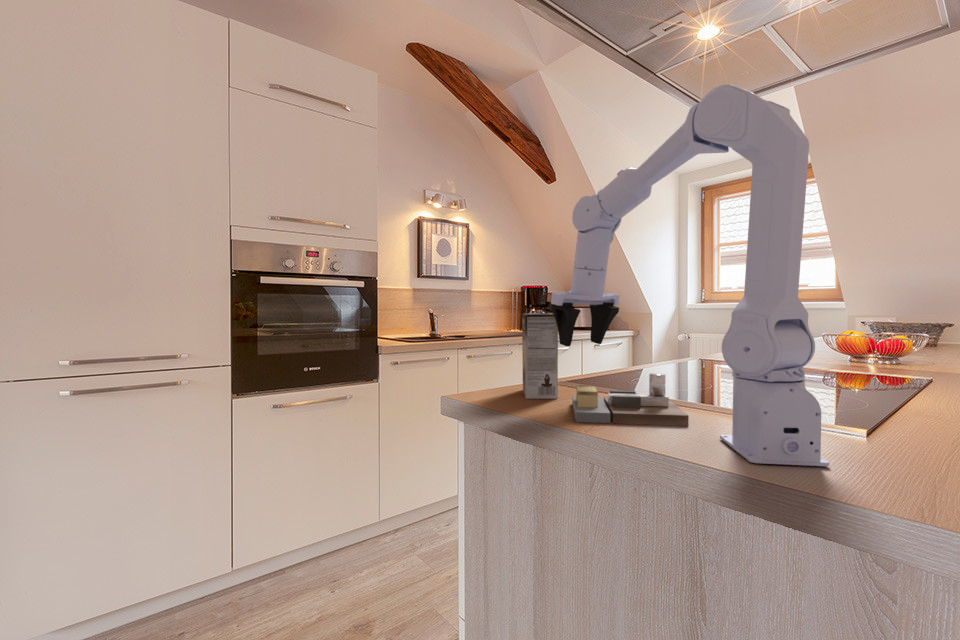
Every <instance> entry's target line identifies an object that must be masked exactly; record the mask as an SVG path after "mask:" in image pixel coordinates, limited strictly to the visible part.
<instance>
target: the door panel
mask: <svg viewBox="0 0 960 640" xmlns="http://www.w3.org/2000/svg"><path fill="white" fill-rule="evenodd" d="M609 393H622V394H637V391H635V390H622V389H621V390H615V389H612V390H611V389H609ZM603 400H604V402H605V404H606V406H607V408H608V410H609V411H610V421H612V424H625V425H626V424H627V425H628V424H629V425H630V424H632V425H656V426H658V425H660V426H682V427H683V426H684V427H685V426H689V416H690V415H689V414H688V413H687V412H685V411H684V410H682V409H681V408H680V407H679V406H677V405H676V404H675V403H674V402H672V400H670V399H669V407H664V406H641V397H640V396H622V395H613V405H609V403H608V396H603Z"/></svg>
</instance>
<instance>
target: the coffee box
mask: <svg viewBox="0 0 960 640" xmlns="http://www.w3.org/2000/svg"><path fill="white" fill-rule="evenodd" d="M521 316H522V317H521V319H522V322H521V324H522V325H521V326H522V332H521V333H522V334H521V335H522V337H521V339H522V340H521V341H522V346H521V347H522V352H521V353H522V355H521V356H522V390H523V393H524V396H525V399H527V400H530V399H531V400H534V399H536V400H540V399H544V400H545V399H547V400H548V399H549V400H550V399H551V400H553V399H555V400H556V399H557V400H558V397H559V396H558V394H559V393H558V391H559V387H558V386H559V385H558V383H559V382H558V380H559V378H558V376H559V373H558V371H559V369H558V367H559V366H558V365H559V363H558V362H559V361H558V360H559V357H558V355H559V353H558V352H559V333H558V327H557V323H556V320H555V317H554V314H553V312H529V313H527V312H525V313H524V312H523V313H522V315H521Z"/></svg>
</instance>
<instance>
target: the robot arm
mask: <svg viewBox="0 0 960 640" xmlns="http://www.w3.org/2000/svg"><path fill="white" fill-rule="evenodd" d="M809 143H810V142H809V138H808V137H807V135H806V134H805V133H804V132H803V130H802V128H800V126H799V125H798V123H797V122H796V121H795V119H794V118H793V117H792V115H791V110H790V108H788V107H785V106H784V105H781V104H779V103H776V102H774V101H770V100H766V99H764V98H762V97H760V96H759V95H758V94H756V93H754V92H752V91H749V90H747V89H745V88H743V87H741V86H737V85H734V84H730V83H729V84H727V83H725V84H721V85H719V86H716V87H714V88H713V89H711V90H710V91H709V92H708V93H707V94H705V95H704V97H702V99H701V100H700V101H699V102H697V103H696V104H695V105H693V106H692V107H690V108H689V110H688V113H687V116H686V117H685V121H684V123H683V124H682V125H680V127H678V129H677V130H675V132H674V133H673V134H671V135H670V136H669V137H668V138H667V139H666V140H665V141H664V142H663V143H662V144H661V145H660V146H658V148H656V150H655V151H654V152H653V153H652V154H651V155H650V156H648V158H646V160H645V161H644V162H643V163H642V164H641V165H640V166H639V167H637V168H635V167H627V168H625V169H620V171H618V172H617V173H616V176H615V178H613V179H612V180H611V181H610V182H609V183H607V185H605V186H604V187H602V189H601V188H600V190H599V191H597V193H596V194H592V195H590V196H589V195H585V196H581V198H580V199H579V200H578V201H577V202H576V204H575V205H574V207H573V211H572V219H571V220H572V224H573V226H574V228H575V229H576V230H577V237H576V242H575V243H576V244H575V255H574V262H573V269H572V279H571V287H570V288H571V289H570V290H568V291H563V292H560V291H559V292H552V293H551V301H550V309H551V313H553V314H554V317H555V320H556V323H557V327H558V341H559V344H560V345H562V346H564V347H571V345H572V342H573V336H574V330H575V325H576V323H577V320H578V317H579V315H580V313H581V312H582V311H581V309H578V308H575V306H573V305H577V306H579V305H581V306H582V305H586V306H587V305H588V306H589V309H590V317H591V318H590V319H591V322H590V323H591V327H590V342H592V343H594V344H597V345H601V344H602V342H603V340H604V337H605V335H606V333H607V331H608V329H609V326H610V324H611V323H612V322H613V320H614V318H615V317H616V316H617V315H618V313H619V312H620V307H619V306H618V305H619V301H620V294H618V293H612V292H609V293H608V292H605V287H606V279H607V271H608V266H609V265H608V264H609V256H610V249H611V244H612V242H613V241H614V238H615V233H616V231H617V230H618V228H619V227H620V225H621V223H622V218H624V216H626V215H627V214H629V213H631V212H632V211H633V210H634V209H635V208H637V207H638V206H639V205H641V204H642V203H643V202H644V201H646V200H647V199H649V198H650V196H651V195H652V194H651V193H652V187H653V186H654V185H655V184H657V183H658V182H660V181H661V180H662V179H663V178H666V176H668V175H669V174H671V173H672V172H674V171H675V170H677V169H678V168H680V167H681V166H683V165H684V164H686V163H687V162H688V161H690V160H692V159H693V158H695V157H696V156H697V155H700V154H701V155H703V154H704V155H705V154H721V153H722V154H724V153H729V152H730V150H729V149H732V150H733V151H734V152H736V154H738V155H740V156H741V157H743V158H744V159H745V160H747V161H749V162H750V163H751V165H752V169H751V170H752V171H751V183H750V184H751V185H750V197H749V198H750V200H749V213H748V229H747V230H748V231H747V232H748V233H747V243H746V260H745V264H746V265H745V274H744V275H745V276H744V277H745V278H744V291H743V297H742V298H741V299H740V300H739V302H738V303H737V304H736V306H735V307H734V309H733V310H732V312H731V321H730V324H729V328H728V329H727V331H726V333H725V334H724V336H723V338H722V340H721V341H722V343H721V353H722V357H723V360H724V361H725V364H727V366H728V367H729V368H730V369H731V370H732V372H731V373H732V434H720V435H719V439H721V440H722V441H723V442H724V443H726V444H727V445H728V446H730V447H731V448H732V449H733V450H734V451H736V453H738V454H740V455H741V456H742V457H743V458H745V459H746V460H747V461H748V462H750V463H753V464H765V465H768V464H769V465H787V466H789V465H790V466H810V467H815V466H816V467H830V462H829V461H828V460H826V459H825V458H823V457H821V452H822V451H821V450H822V449H821V447H822V444H821V443H822V408H821V406H820V403H819V401H818V399H817V398H816V397H815V395H814V394H812V393H811V392H809V391H808V390H807V388H806V384H805V383H806V382H805V381H806V380H805V379H806V374H805V373H806V372H805V371H804V367H805V366H807V365H808V364H809V363H810V362H811V360H812V359H813V357H814V355H815V352H816V343H815V339H814V335H812V332H811V330H810V328H809V312H808V310H807V309H806V307H805V306H804V304H803V302H802V301H801V299H800V298H799V288H800V273H801V261H802V247H803V246H802V245H803V234H804V220H805V207H806V205H805V204H806V195H807V194H806V193H807V179H808V178H807V177H808V168H809V152H810V144H809Z"/></svg>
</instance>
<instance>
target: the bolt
mask: <svg viewBox="0 0 960 640" xmlns="http://www.w3.org/2000/svg"><path fill="white" fill-rule="evenodd" d="M648 381H649V382H648V385H649V386H648V393H636V394H622V393H610V392H608V393H607V397H608V403H609V405H613V395H622V396H640V397H641V406H664V407H669V400H670V398H669V397H670V396H668V395H666V374H665V373H660V372H659V373H657V372H653V373H649V375H648Z"/></svg>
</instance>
